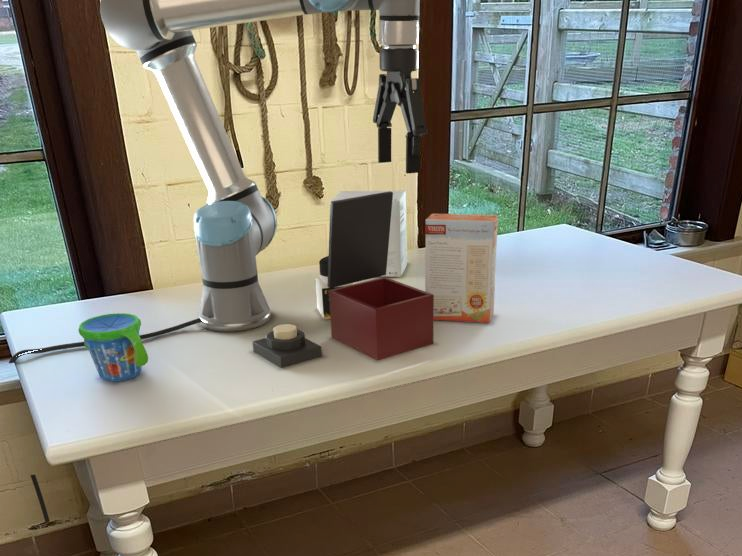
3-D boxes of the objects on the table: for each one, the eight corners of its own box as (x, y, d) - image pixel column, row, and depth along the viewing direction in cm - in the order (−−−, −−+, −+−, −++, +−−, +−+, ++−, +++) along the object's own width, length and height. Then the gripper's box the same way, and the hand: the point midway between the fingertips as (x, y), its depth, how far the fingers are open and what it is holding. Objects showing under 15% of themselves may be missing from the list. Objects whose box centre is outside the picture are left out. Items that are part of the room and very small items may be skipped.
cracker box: (494, 315, 170) (499, 213, 158) (489, 324, 165) (494, 220, 154) (430, 311, 173) (431, 211, 162) (424, 320, 168) (424, 218, 157)
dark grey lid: (393, 192, 150) (390, 191, 151) (332, 203, 144) (330, 201, 144) (386, 275, 161) (383, 273, 162) (329, 288, 154) (327, 286, 155)
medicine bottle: (323, 319, 170) (320, 263, 163) (317, 309, 176) (313, 255, 169) (355, 316, 171) (353, 260, 165) (348, 306, 177) (345, 251, 171)
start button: (301, 337, 151) (300, 328, 150) (281, 342, 149) (280, 333, 148) (289, 331, 154) (288, 322, 153) (270, 336, 152) (269, 327, 151)
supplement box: (408, 263, 206) (407, 189, 196) (401, 278, 194) (400, 200, 185) (343, 262, 208) (339, 189, 198) (333, 276, 197) (328, 200, 187)
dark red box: (433, 343, 156) (433, 294, 151) (377, 360, 149) (375, 309, 144) (386, 323, 167) (384, 276, 162) (331, 338, 160) (328, 290, 155)
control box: (322, 357, 152) (320, 337, 150) (281, 368, 147) (279, 348, 145) (292, 341, 159) (291, 322, 157) (253, 351, 155) (251, 332, 153)
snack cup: (73, 373, 148) (60, 320, 142) (123, 356, 154) (112, 305, 149) (118, 395, 139) (105, 340, 133) (168, 377, 145) (158, 323, 140)
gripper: (447, 49, 142) (442, 176, 153) (389, 44, 161) (389, 156, 172) (409, 50, 139) (408, 179, 151) (355, 45, 158) (358, 159, 170)
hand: (398, 167), depth 161 cm, fingers open, 13 cm apart
